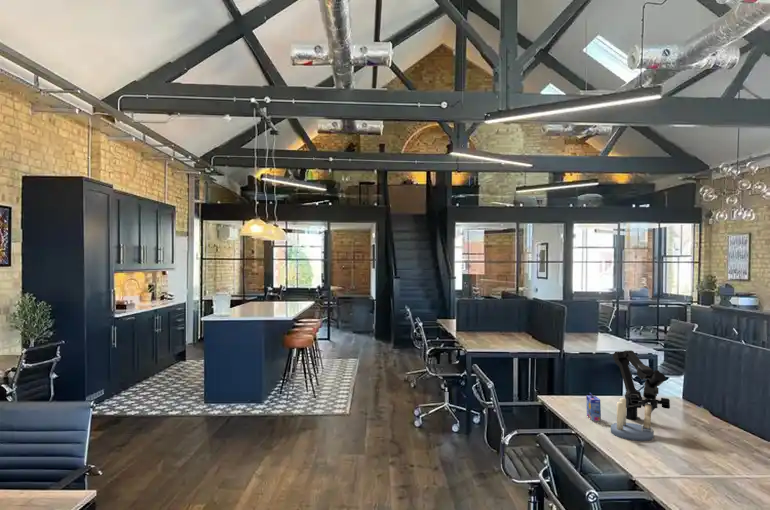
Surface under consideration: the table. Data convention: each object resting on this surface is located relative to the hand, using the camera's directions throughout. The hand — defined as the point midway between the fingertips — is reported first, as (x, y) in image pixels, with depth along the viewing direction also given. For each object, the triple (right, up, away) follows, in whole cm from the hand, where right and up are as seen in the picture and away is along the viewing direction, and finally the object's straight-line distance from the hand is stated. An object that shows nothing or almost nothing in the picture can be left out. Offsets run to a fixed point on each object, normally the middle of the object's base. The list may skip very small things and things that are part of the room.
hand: (648, 415), depth 266 cm
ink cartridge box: (-18, -10, +26) cm, 33 cm away
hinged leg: (-3, -5, -5) cm, 8 cm away
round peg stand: (-9, -10, -1) cm, 13 cm away
